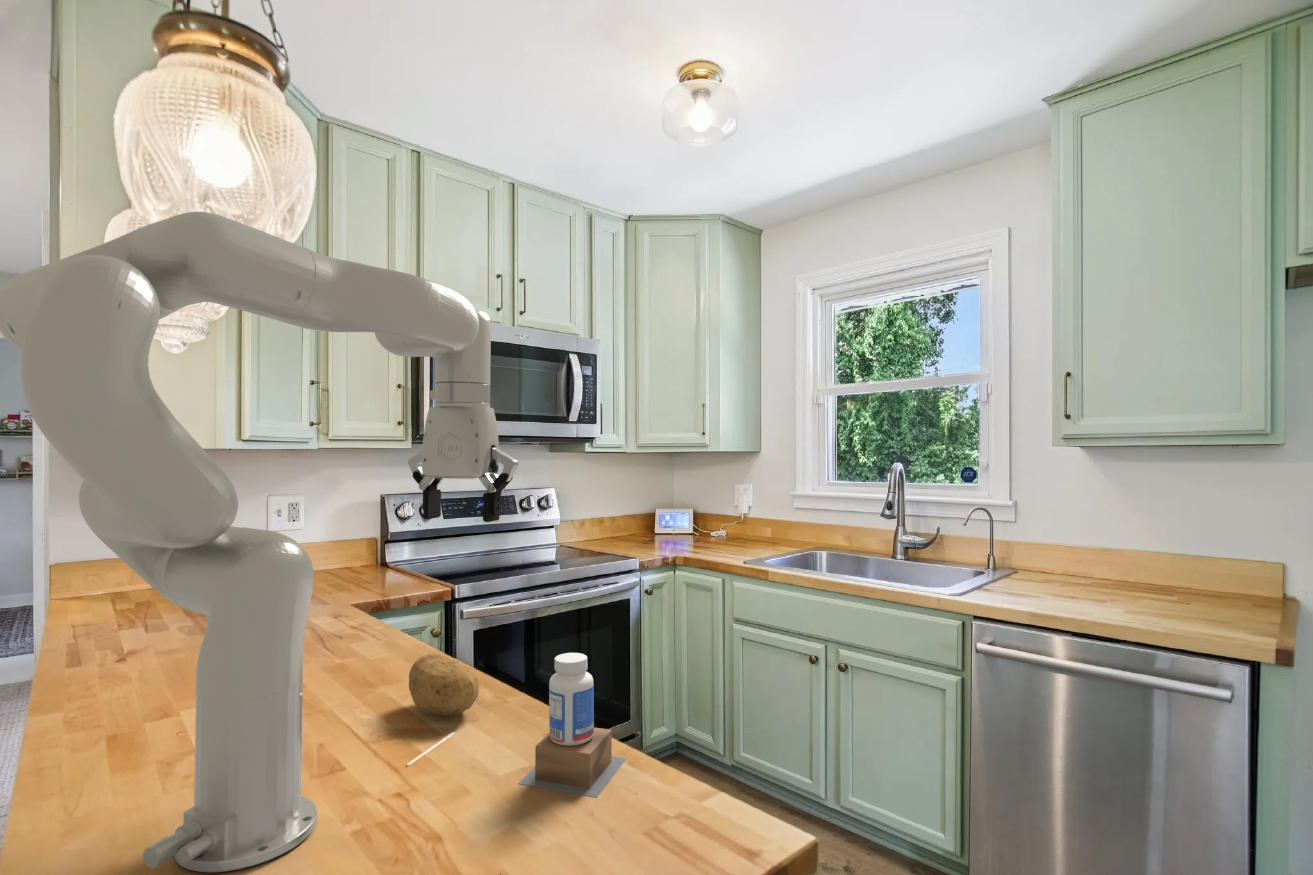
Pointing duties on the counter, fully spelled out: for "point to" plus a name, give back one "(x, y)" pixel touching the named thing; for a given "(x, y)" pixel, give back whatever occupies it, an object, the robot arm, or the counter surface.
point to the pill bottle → (571, 701)
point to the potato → (442, 685)
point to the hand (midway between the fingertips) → (461, 519)
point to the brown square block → (573, 760)
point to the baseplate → (592, 792)
